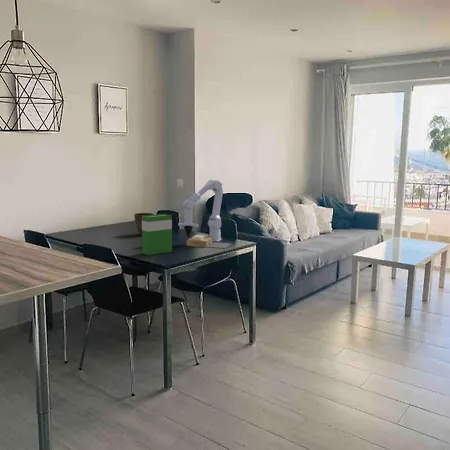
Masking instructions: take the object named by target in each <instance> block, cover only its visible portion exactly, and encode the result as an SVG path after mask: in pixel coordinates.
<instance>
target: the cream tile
mask: <svg viewBox="0 0 450 450" xmlns="http://www.w3.org/2000/svg"><path fill="white" fill-rule="evenodd" d="M192 237H193V240H202V239H204V238H205V237H206V234H195V235H193V236H192Z"/></svg>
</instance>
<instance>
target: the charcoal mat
mask: <svg viewBox="0 0 450 450" xmlns="http://www.w3.org/2000/svg"><path fill="white" fill-rule="evenodd" d="M231 245H232V243H226V242H213V243H212V244H210V245H209V246H207V247H206V248H211V249H213V248H214V249H224V250H225V249H227V248H228V247H229V246H231Z"/></svg>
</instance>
